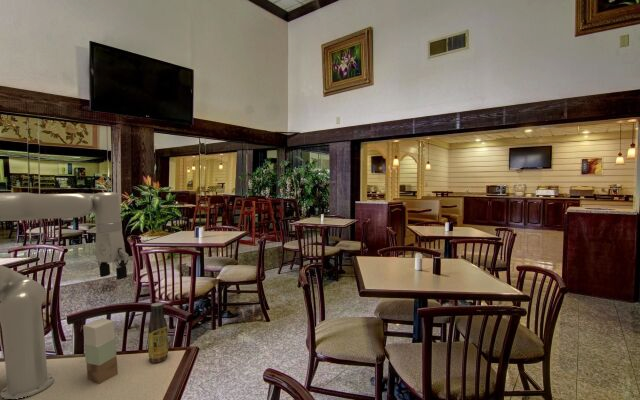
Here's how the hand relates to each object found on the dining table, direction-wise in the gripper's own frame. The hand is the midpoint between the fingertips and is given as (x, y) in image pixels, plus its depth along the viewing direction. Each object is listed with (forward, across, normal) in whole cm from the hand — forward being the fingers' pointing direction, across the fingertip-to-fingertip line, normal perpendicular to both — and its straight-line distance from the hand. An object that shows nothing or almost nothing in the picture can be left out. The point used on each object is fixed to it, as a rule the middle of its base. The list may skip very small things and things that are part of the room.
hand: (113, 277), depth 117 cm
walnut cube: (+31, +3, -8) cm, 32 cm away
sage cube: (+25, +3, -8) cm, 26 cm away
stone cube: (+19, +3, -8) cm, 20 cm away
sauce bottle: (+31, +10, +7) cm, 34 cm away
